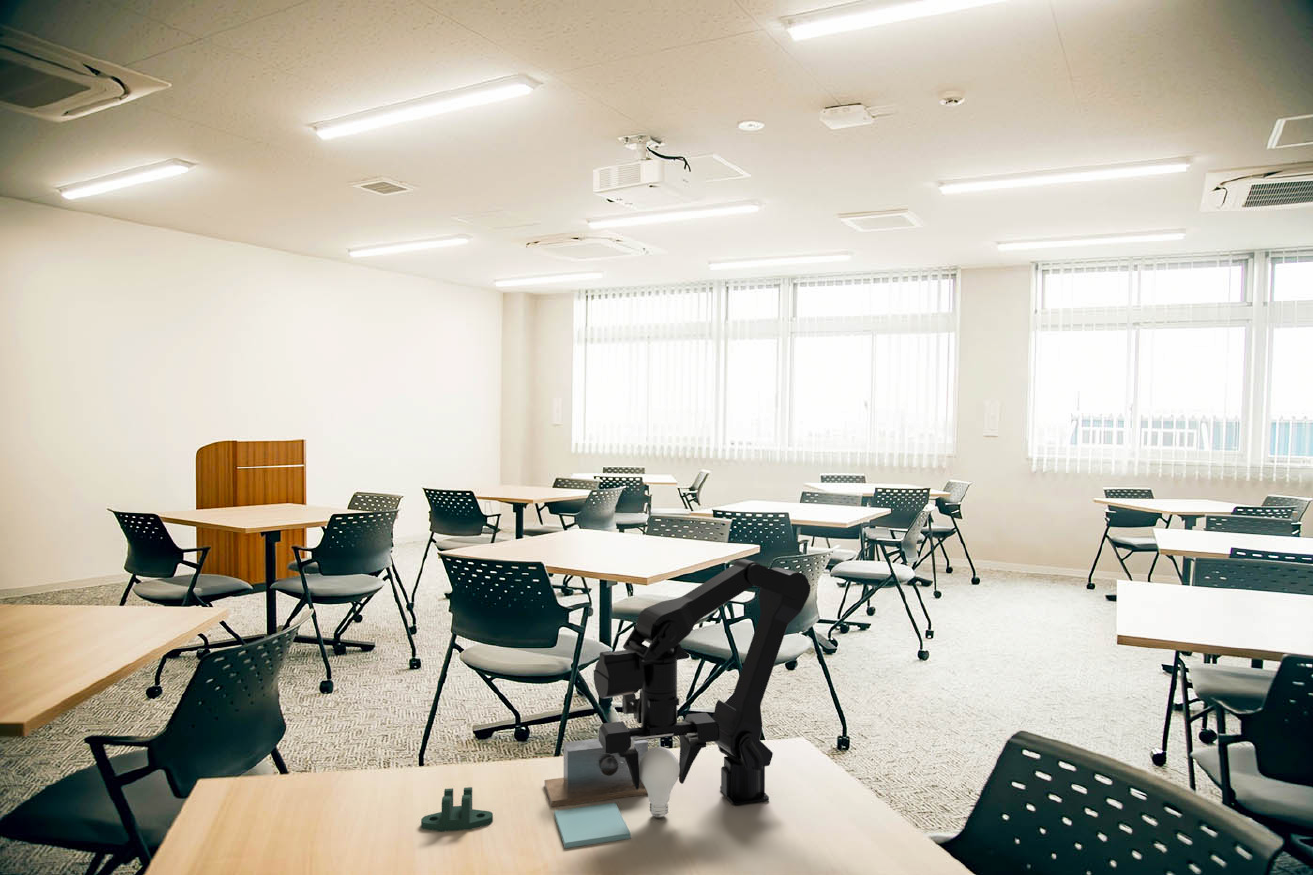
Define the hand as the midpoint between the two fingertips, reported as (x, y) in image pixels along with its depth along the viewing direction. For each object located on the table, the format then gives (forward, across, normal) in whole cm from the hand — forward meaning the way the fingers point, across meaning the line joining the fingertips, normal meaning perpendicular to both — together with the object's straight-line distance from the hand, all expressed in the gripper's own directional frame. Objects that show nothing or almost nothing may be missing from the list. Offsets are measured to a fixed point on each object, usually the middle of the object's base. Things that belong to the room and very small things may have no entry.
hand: (659, 785), depth 123 cm
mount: (+5, +31, -7) cm, 32 cm away
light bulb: (+5, 0, 0) cm, 5 cm away
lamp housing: (+5, +6, -12) cm, 14 cm away
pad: (+5, +11, 0) cm, 12 cm away
